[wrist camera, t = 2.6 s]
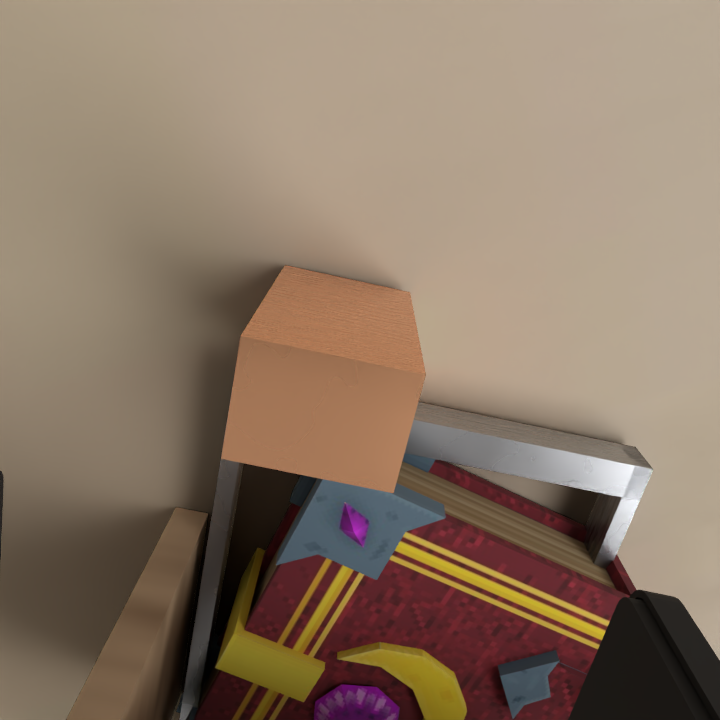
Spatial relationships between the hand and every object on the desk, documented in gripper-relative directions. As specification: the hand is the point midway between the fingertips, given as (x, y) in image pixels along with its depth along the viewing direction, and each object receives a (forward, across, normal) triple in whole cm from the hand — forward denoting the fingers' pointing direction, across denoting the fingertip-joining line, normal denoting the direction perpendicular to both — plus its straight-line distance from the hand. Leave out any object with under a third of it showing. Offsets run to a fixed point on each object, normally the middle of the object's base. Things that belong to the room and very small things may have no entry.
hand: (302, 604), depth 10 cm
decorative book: (+13, -4, +11) cm, 18 cm away
